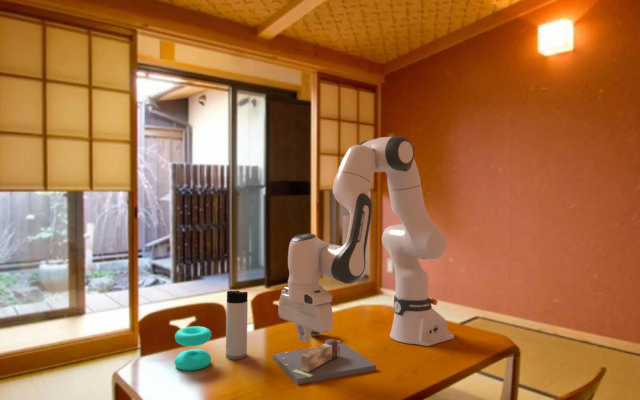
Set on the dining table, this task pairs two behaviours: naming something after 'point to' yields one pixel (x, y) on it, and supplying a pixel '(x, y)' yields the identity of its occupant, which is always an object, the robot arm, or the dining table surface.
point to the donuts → (192, 357)
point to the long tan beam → (320, 355)
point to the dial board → (324, 365)
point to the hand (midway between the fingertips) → (303, 340)
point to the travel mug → (236, 324)
